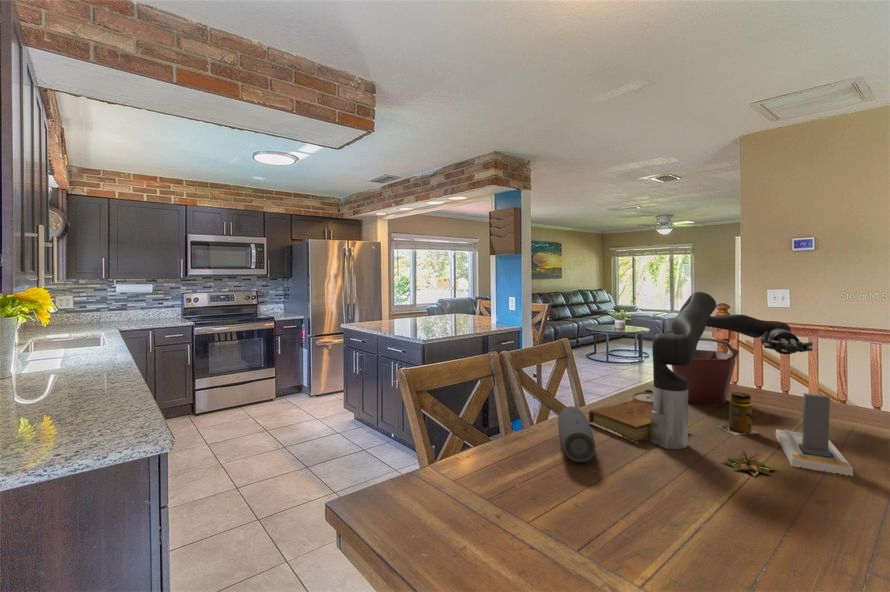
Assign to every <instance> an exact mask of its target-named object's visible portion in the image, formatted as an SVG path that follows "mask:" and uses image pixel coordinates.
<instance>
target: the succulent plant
mask: <svg viewBox="0 0 890 592" xmlns="http://www.w3.org/2000/svg"><path fill="white" fill-rule="evenodd" d="M747 452H749V451H748V450H747ZM753 453H754V451H752V452H751V454H750V456H748V455H747V453H746V452H745V451H744V450H742V451H741V453H740V455H738V457H727V459H728V460H725V461H723V462H722V461H721V462H720V463H721V464H726V463H727V464H726V465H728V466H731V467H733V470H734V469H738V470H737V471H740V470H742V471H743V469H745V467H744V468H742V466H741V464H746V465H745V466H746V467H747V466H749V467H748V468H746V469H745V470H747V471H751V470H750V469H751V468H750V467H751V466H750V465H754V466H756V467H757V469H758V470H754V469H753V471H754V472H755V471H758V472H760V473H763V472H765V473H766V474H765V473H763V474H765V475H767V474H770V475H771V476H772V474H771V473H770V471H768V470H767V469H764V468H759V467H765V468H768V469H773V470H775V471H774V472H778V470H776V469H774V468H773V467H772V468H771V467H770V466H765V464H764V462H761V461H758V456H759V455H760V453H756V454H755V455H753ZM756 457H757V458H756ZM754 458H755V459H754ZM744 460H746V461H747V462H746V461H744ZM732 463H736V464H734V466H733V465H730V464H732ZM758 475H759V474H757V475H756V476H758Z"/></svg>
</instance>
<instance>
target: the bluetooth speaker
mask: <svg viewBox="0 0 890 592" xmlns="http://www.w3.org/2000/svg"><path fill="white" fill-rule="evenodd" d="M583 412H584V411H582V410H581V409H580V408H579V407H576V406H573V405H572V406H571V405H570V406H567V407H564V408H563V409H562V410H560V412H559V414H558V417H557V425H558V426H557V428H558V435H559V440H560V443H561V446H562V449H563V452H564V453H565V454H566V456H567V457H568V458H569V459H570V460H571V461H574V462H577V463H584V462H585V463H586V462H587V461H590V460H591V459H592V458H593V457H594V455H595V454H596V453H595V452H596V441H595V438H594V434H593V429H592V427H591V425H590V424H589V419H588V418H587V417H586V415H585V414H584V413H583Z"/></svg>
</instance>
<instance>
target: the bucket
mask: <svg viewBox="0 0 890 592" xmlns="http://www.w3.org/2000/svg"><path fill="white" fill-rule="evenodd" d="M699 341H708V342H709V341H710V342H715V343H721V344H724V345H725V346H726V348H727V349H728V350H729V353H726V352H720V351H717V350H705V349H696V352H695V355H694V359H693V361H692V362H691V364H690V365H687V366H675V365H671V368H672V370H671V371H673V372H674V373H676V374H678V375H680V376H682V377H684V378H686V379H687V380H688V403H689V402H690V404H693V403H694V404H693V405H697V404H698V406H707V405H721V406H723V404H725V401H726V402H727V398H728V397H727V396H728V393H729V390H730V386H731V381H732V379H733V378H732V377H733V375H734V374H733V373H734V369H735V366H736V358H737V356H738V354H739V351H738V350H737V349H736V348H734V347H732V345H731V344H730V343H729V342H728V341H725V340H720V339H714V338H709V337H706V338H705V337H703V338H702V337H700V339H699Z"/></svg>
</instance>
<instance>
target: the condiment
mask: <svg viewBox="0 0 890 592" xmlns="http://www.w3.org/2000/svg"><path fill="white" fill-rule="evenodd" d="M751 399H752V395H750V394H749V393H746V392H741V391H740V392H738V391H737V392H736V391H735V392H734V391H733V392H731V393H730V400H729V403H728V404H729V406H728V407H729V409H728V410H729V412H728V414H729V415H728V425H718V426H716V427H717V428H719V429H721V430H723V431H725V432H727V433H730V434H731V433H732V435H734V436H736V435H738V436H739V435H747V434H746V433H749V434H748V435H752V434H753V435H754V434H755V433H756V434H758V431H755V430H752V425H753V424H752V422H753V421H752V420H753V419H752V417H753V404H752V403H751V402H752V400H751ZM728 426H729V429H730V430H729V431H728V429H727V428H726V427H728ZM725 429H727V430H725ZM735 432H737V433H735ZM751 432H753V433H751Z"/></svg>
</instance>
